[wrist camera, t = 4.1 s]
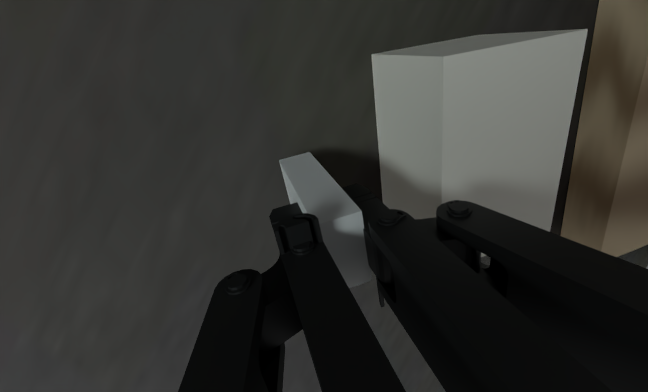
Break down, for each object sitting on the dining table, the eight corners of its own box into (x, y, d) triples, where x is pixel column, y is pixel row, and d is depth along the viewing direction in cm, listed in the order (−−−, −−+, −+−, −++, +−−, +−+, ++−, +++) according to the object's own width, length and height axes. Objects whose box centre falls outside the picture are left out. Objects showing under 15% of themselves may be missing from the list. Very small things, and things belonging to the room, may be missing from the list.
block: (370, 54, 16) (443, 56, 11) (475, 35, 17) (587, 28, 12) (382, 212, 20) (440, 270, 15) (467, 188, 21) (549, 234, 16)
